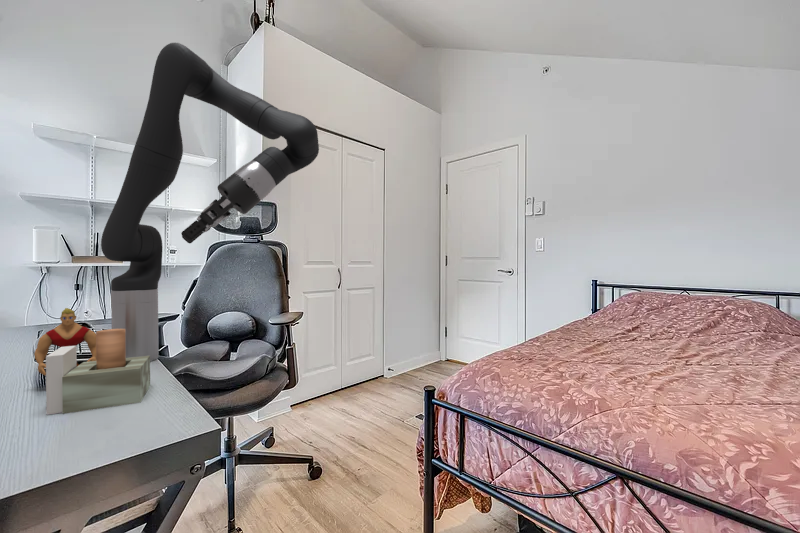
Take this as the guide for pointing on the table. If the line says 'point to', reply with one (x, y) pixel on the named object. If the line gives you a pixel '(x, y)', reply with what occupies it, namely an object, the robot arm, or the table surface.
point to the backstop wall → (58, 376)
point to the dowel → (110, 349)
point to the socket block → (105, 385)
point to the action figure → (65, 338)
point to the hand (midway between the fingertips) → (185, 239)
